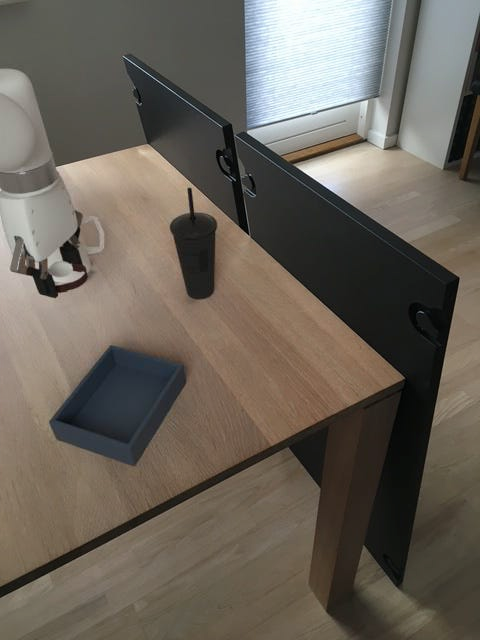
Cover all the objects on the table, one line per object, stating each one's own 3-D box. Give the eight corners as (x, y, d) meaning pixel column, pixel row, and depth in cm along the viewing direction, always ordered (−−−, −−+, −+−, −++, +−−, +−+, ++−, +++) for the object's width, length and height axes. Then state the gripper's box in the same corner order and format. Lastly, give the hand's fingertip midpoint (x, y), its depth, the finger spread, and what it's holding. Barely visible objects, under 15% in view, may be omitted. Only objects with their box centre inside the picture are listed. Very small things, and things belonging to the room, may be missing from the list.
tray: (134, 466, 69) (129, 449, 66) (56, 439, 73) (48, 421, 70) (186, 382, 79) (183, 364, 77) (115, 362, 83) (110, 344, 80)
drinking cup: (228, 281, 97) (221, 180, 84) (212, 308, 92) (203, 204, 78) (189, 274, 99) (176, 174, 86) (172, 300, 94) (155, 197, 80)
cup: (113, 272, 101) (102, 226, 94) (48, 286, 98) (32, 240, 91) (107, 249, 106) (96, 204, 100) (45, 262, 104) (30, 216, 97)
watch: (88, 271, 85) (82, 252, 83) (90, 288, 82) (85, 269, 79) (38, 281, 84) (31, 262, 81) (38, 299, 80) (31, 280, 78)
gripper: (43, 143, 77) (74, 247, 89) (-44, 200, 66) (5, 312, 78) (88, 149, 75) (113, 255, 87) (5, 210, 63) (48, 323, 75)
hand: (62, 281), depth 82 cm, fingers closed on watch, 6 cm apart
